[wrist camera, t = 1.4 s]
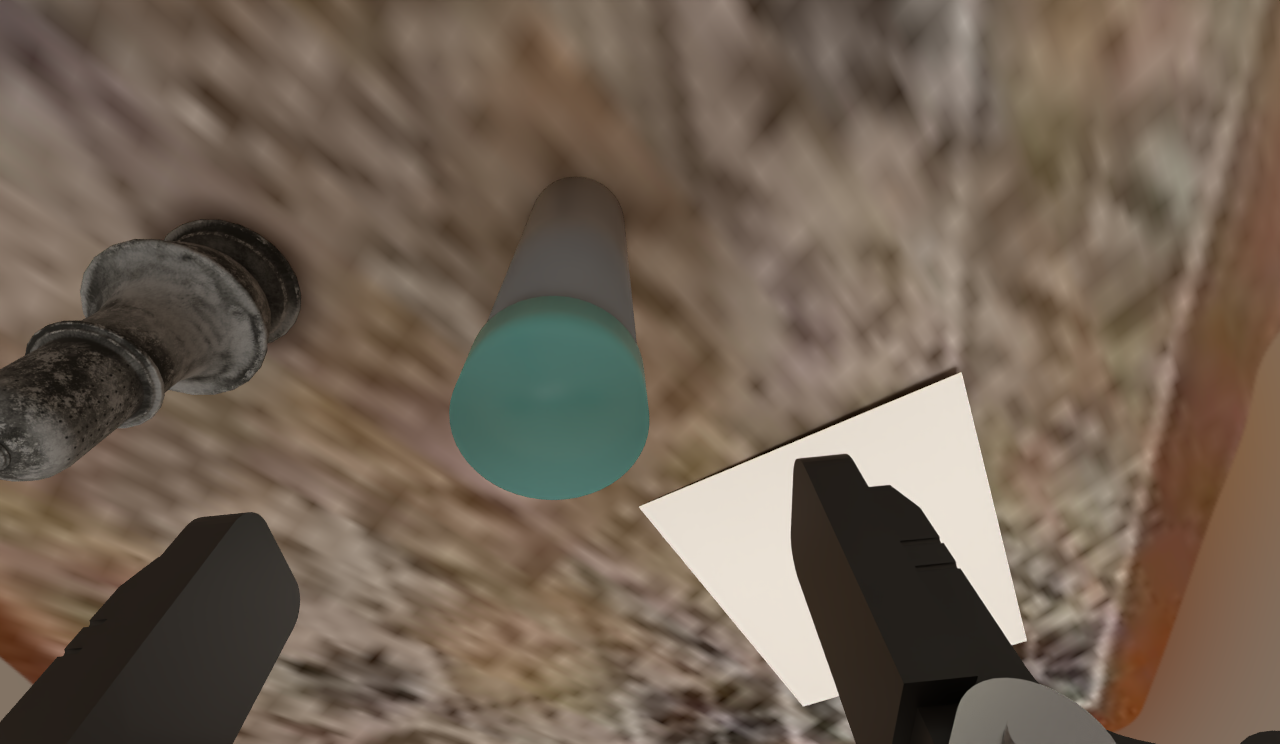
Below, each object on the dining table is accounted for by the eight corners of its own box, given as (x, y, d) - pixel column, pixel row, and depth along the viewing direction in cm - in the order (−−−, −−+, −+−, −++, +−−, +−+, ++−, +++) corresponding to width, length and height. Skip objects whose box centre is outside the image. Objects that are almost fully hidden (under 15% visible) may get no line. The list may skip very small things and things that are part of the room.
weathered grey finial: (340, 298, 25) (146, 495, 14) (246, 375, 26) (8, 604, 16) (212, 178, 22) (-136, 310, 12) (116, 271, 24) (-268, 461, 13)
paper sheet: (1021, 652, 39) (1031, 668, 38) (602, 751, 44) (601, 767, 43) (991, 351, 28) (1003, 362, 27) (430, 527, 33) (425, 542, 32)
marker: (520, 179, 23) (426, 345, 11) (621, 169, 23) (640, 323, 11) (537, 275, 25) (474, 508, 13) (631, 265, 25) (656, 489, 13)
